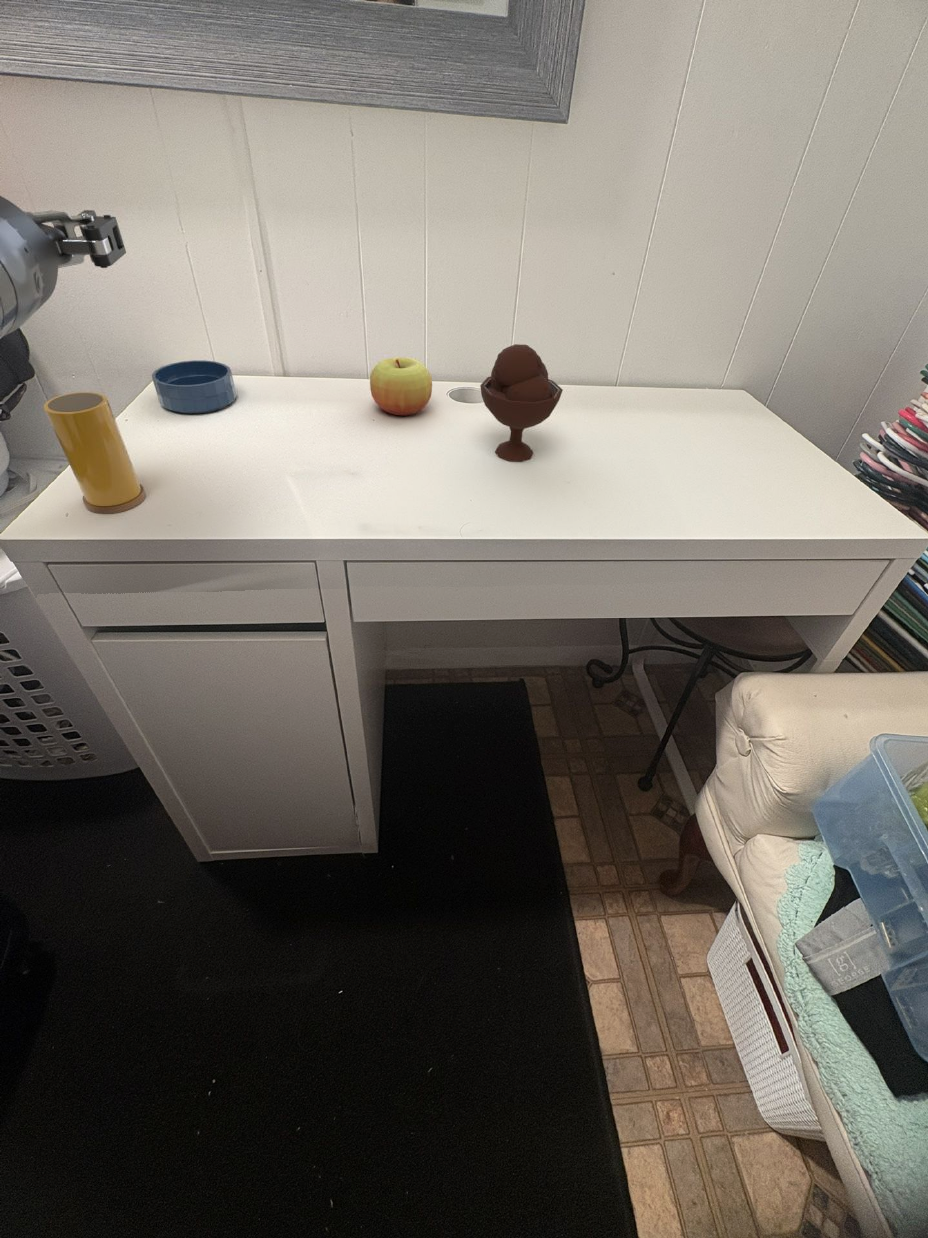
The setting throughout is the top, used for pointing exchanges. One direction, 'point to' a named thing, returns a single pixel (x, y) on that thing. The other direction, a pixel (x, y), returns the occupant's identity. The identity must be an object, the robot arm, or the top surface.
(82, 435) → the cup
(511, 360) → the ice cream bowl
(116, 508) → the coaster
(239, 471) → the top surface
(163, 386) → the bowl
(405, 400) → the apple
